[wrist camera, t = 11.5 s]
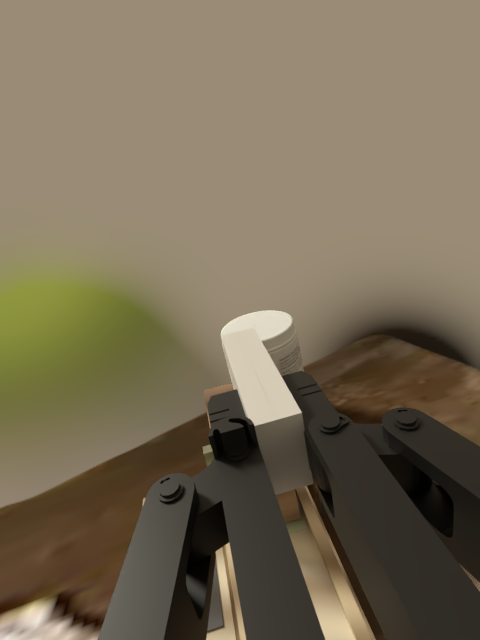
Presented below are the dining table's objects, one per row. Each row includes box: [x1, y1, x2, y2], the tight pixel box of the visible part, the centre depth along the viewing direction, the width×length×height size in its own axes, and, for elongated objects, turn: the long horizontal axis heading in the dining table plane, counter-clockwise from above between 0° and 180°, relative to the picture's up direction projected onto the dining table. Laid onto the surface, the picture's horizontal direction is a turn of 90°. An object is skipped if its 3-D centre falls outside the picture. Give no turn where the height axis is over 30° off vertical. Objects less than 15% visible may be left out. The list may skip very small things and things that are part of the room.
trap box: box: [143, 445, 376, 640], centre depth 31 cm, size 30×18×5 cm, turn 10°
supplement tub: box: [221, 311, 304, 376], centre depth 51 cm, size 10×10×15 cm
